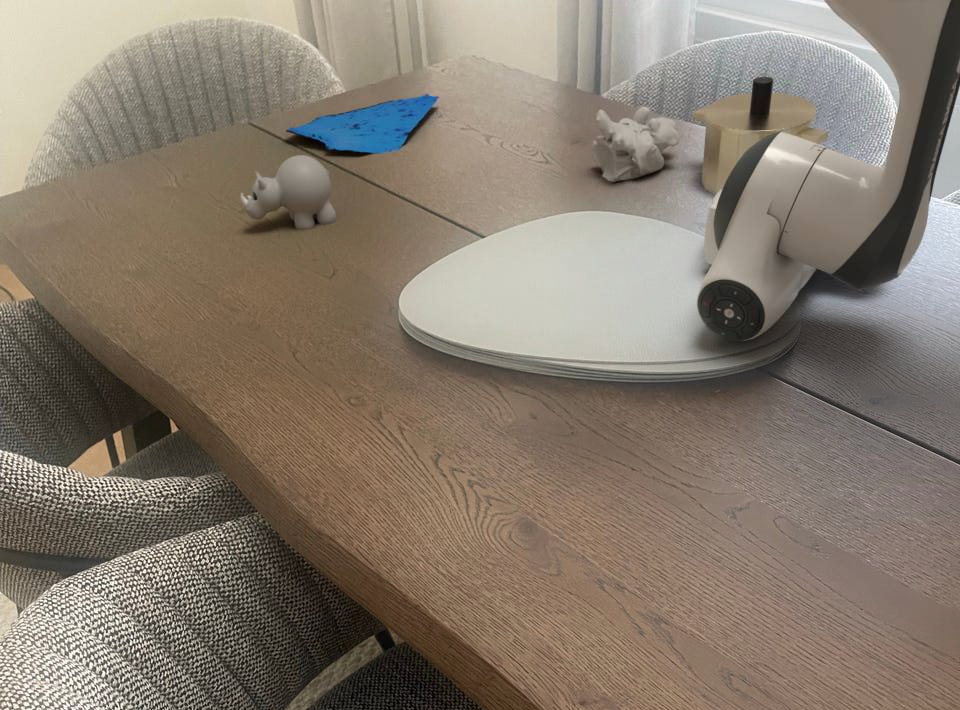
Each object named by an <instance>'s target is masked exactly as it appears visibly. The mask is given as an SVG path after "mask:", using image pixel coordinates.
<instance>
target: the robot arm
mask: <svg viewBox="0 0 960 710" xmlns="http://www.w3.org/2000/svg"><path fill="white" fill-rule="evenodd" d="M823 1H824V2H825V3H826V5H827V6H828V7H829V8H830V9H831V11H832V12H833V13H834V14H835V15H836V16H837V17H839V19H841V20H842V21H843V22H845V23H846V24H847V25H848V26H850V27H851V28H852V29H853V30H854V31H855V32H857V34H859V35H860V36H861V37H862V38H863V39H864V40H866V42H868V43H869V45H870V46H871V47H873V49H874V50H875V51H876V52H877V53H878V54H879V56H880V57H881V58H882V60H884V62H885V63H886V64H887V66H888V67H889V68H890V71H891V72H892V73H893V76H894V78H895V80H896V83H897V86H898V91H899V99H898V107H897V110H896V115H895V119H894V124H893V129H892V134H891V138H890V141H889V147H888V150H887V155H886V159H885V164H884V166H877V165H874V164H871V163H868V162H865V161H863V160H859V159H858V158H855V157H851V156H849V155H847V154H843V153H841V152H838V151H835V150H833V149H830V148H828V147H827V146H825V145H823V144H817V143H814V142H811V141H808V140H806V139H803V138H800V137H797V136H794V135H791V134H788V133H784V132H782V131H779V132H775V133H772V134H770V135H768V136H766V137H764V138H763V139H761V140H760V141H758V142H757V143H755V144H754V145H753V146H751V147H750V148H749V149H748V150H747V151H746V152H745V153H744V154H743V156H742V157H741V158H740V159H739V161H738V162H737V164H736V165H735V167H734V168H733V170H732V171H731V173H730V175H729V177H728V178H727V180H726V182H725V185H724V187H723V189H721V190H720V191H719V192H718V193H717V194H716V195H715V194H714V197H713V198H712V200H711V204H709V207H708V211H707V216H706V217H707V218H706V222H705V223H706V224H705V232H704V245H703V247H704V253H703V254H704V261H705V262H706V263H707V264H709V265H711V266H710V268H709V269H708V271H707V273H706V275H705V276H704V279H703V281H702V282H701V284H700V287H699V289H698V292H697V297H696V308H697V311H698V315H699V317H700V319H701V320H702V322H703V323H704V325H705V326H706V327H707V328H708V329H709V331H711V332H713V333H714V334H716V335H717V336H719V337H721V338H723V339H727V340H729V341H733V342H747V341H750V340H753V339H756V338H757V337H760V336H761V335H763V334H765V332H766V331H768V330H769V329H770V328H771V327H772V326H773V325H775V324H776V323H777V322H778V320H779V319H781V318H782V316H784V314H785V313H786V311H787V310H788V309H789V308H790V307H791V305H792V304H793V303H794V301H795V300H796V298H797V296H798V294H799V292H800V291H801V289H803V288H804V287H805V285H807V283H808V282H809V281H810V279H811V278H812V276H813V275H814V273H815V272H816V271H817V270H819V271H822V272H824V273H827V274H829V276H830V277H832V278H833V279H835V280H837V281H839V282H841V283H843V284H845V285H847V286H849V287H851V288H853V289H855V290H857V291H861V290H866V289H870V288H874V287H877V286H880V285H884V284H886V283H889V282H891V281H893V280H895V279H898V278H899V277H900V275H901V274H902V272H904V270H906V268H907V267H908V265H909V264H910V263H911V262H912V259H913V258H914V257H915V255H916V253H917V251H918V249H919V248H920V245H921V243H922V241H923V238H924V235H925V233H926V228H927V224H928V217H929V209H930V203H931V199H932V195H933V189H934V183H935V180H936V176H937V175H936V174H937V172H938V171H937V170H938V168H939V163H940V160H941V156H942V152H943V150H944V145H945V142H946V138H947V134H948V130H949V126H950V123H951V119H952V117H953V116H952V115H953V113H954V108H955V106H956V102H957V99H958V94H959V91H960V0H823Z"/></svg>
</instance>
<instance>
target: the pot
mask: <svg viewBox="0 0 960 710" xmlns="http://www.w3.org/2000/svg"><path fill="white" fill-rule="evenodd" d="M706 108H707V106H702V107H700V108H699V109H697V110H695V111H694V112H692V121H695V122H699V123H705V134H704V147H703V159H702V172H701V183H702V185H703V187H704V189H705V190H706V191H708V192H710V193H711V194H713V195H714V196H715V195H716V194H717V193H718V192H719V191H720V190H721V189H723V187H724V185H725V182H726V180H727V178H728V177H729V175H730V173H731V171H732V170H733V168H734V167H735V165H736V164H737V162H738V161H739V159H740V158H741V157H742V156H743V154H744V153H745V152H746V151H747V150H748V149H749V148H750V147H751V146H753V145H754V144H755V143H757V142H758V141H760V140H761V139H763V138H764V137H766V136H768V135H743V134H734V133H729V132H725V131H721V130H718V129H716V128H713V127H711V126H710V125H708V124H707V123H706V122H705V120H704V111H705V109H706ZM785 133H788V134H791V135H794V136H797V137H800V138H803V139H806V140H808V141H811V142H814V143H817V144H819V145H822V144H823V143H825V142H826V141H827V140H828V138H829V137H828V135H829V131H828V130H824V129H819V128H813V127H812V122H811V123H810V124H808V125H806V126H805V127H802V128H800V129H797V130H793V131H789V132H785Z"/></svg>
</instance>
